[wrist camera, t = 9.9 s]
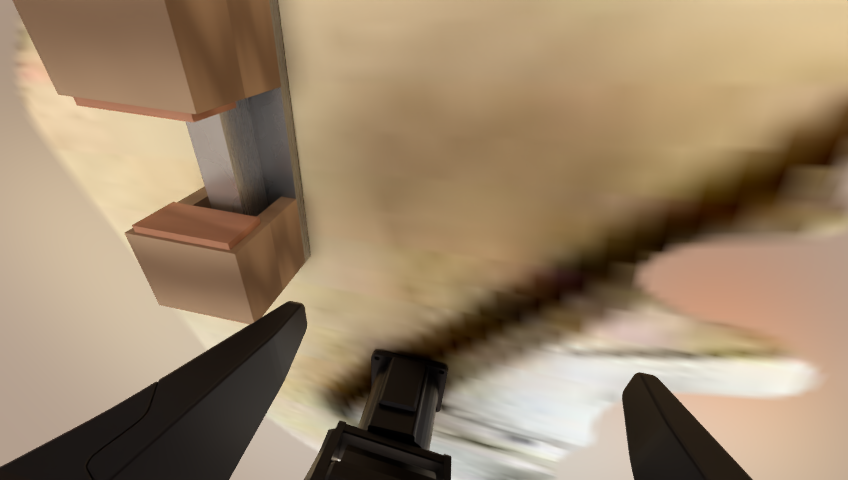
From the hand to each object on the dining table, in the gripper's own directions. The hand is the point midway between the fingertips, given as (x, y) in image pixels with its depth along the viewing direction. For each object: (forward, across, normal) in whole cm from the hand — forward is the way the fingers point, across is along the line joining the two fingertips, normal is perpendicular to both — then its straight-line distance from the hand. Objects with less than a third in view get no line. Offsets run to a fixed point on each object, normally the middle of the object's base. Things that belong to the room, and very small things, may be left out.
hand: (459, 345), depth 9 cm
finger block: (+11, +14, -6) cm, 19 cm away
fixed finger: (+11, +14, +6) cm, 19 cm away
